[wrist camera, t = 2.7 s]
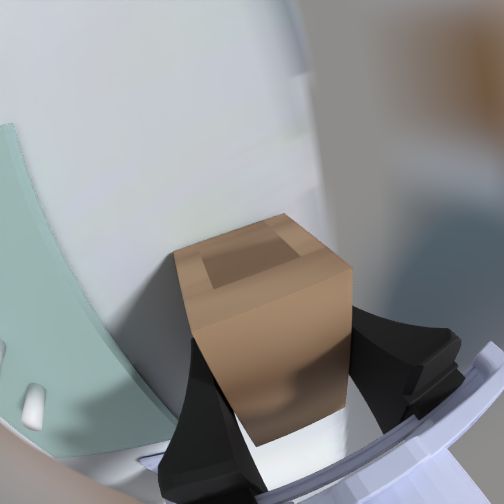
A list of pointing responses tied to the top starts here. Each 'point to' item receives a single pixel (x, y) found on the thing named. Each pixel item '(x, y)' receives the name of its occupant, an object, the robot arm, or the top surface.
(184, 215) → the top surface
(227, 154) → the top surface
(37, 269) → the pin board
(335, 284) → the box
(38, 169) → the top surface
